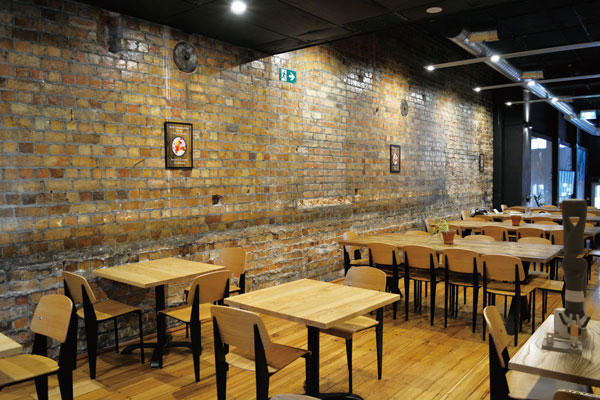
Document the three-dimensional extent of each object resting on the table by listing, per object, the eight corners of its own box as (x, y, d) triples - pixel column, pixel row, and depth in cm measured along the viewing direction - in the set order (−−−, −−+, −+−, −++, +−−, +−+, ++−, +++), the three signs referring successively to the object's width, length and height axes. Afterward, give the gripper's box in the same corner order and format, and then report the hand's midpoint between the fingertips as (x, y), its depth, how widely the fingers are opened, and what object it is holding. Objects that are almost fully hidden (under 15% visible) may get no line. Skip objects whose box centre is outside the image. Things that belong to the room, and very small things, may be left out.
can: (571, 334, 230) (571, 312, 230) (578, 340, 223) (578, 316, 222) (556, 334, 231) (556, 312, 231) (563, 339, 224) (563, 316, 223)
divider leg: (570, 347, 208) (570, 328, 208) (570, 342, 214) (570, 323, 214) (577, 348, 206) (577, 329, 206) (578, 343, 213) (578, 324, 212)
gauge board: (541, 348, 213) (541, 334, 213) (543, 340, 223) (543, 327, 223) (582, 354, 204) (582, 340, 204) (582, 346, 214) (582, 333, 214)
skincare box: (561, 333, 233) (561, 311, 232) (553, 331, 236) (553, 309, 236) (568, 331, 235) (568, 309, 235) (560, 329, 239) (560, 307, 239)
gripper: (592, 299, 210) (591, 335, 211) (557, 295, 218) (557, 330, 219) (592, 303, 204) (591, 339, 205) (557, 299, 212) (556, 334, 212)
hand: (574, 334), depth 212 cm, fingers closed on divider leg, 3 cm apart
